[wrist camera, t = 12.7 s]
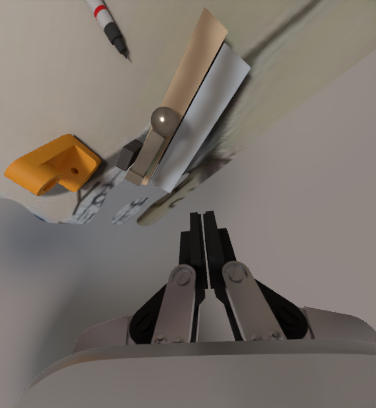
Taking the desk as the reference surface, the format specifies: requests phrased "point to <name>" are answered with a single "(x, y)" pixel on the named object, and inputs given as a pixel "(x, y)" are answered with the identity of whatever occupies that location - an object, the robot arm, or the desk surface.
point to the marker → (107, 24)
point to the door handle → (153, 142)
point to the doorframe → (201, 106)
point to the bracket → (54, 166)
